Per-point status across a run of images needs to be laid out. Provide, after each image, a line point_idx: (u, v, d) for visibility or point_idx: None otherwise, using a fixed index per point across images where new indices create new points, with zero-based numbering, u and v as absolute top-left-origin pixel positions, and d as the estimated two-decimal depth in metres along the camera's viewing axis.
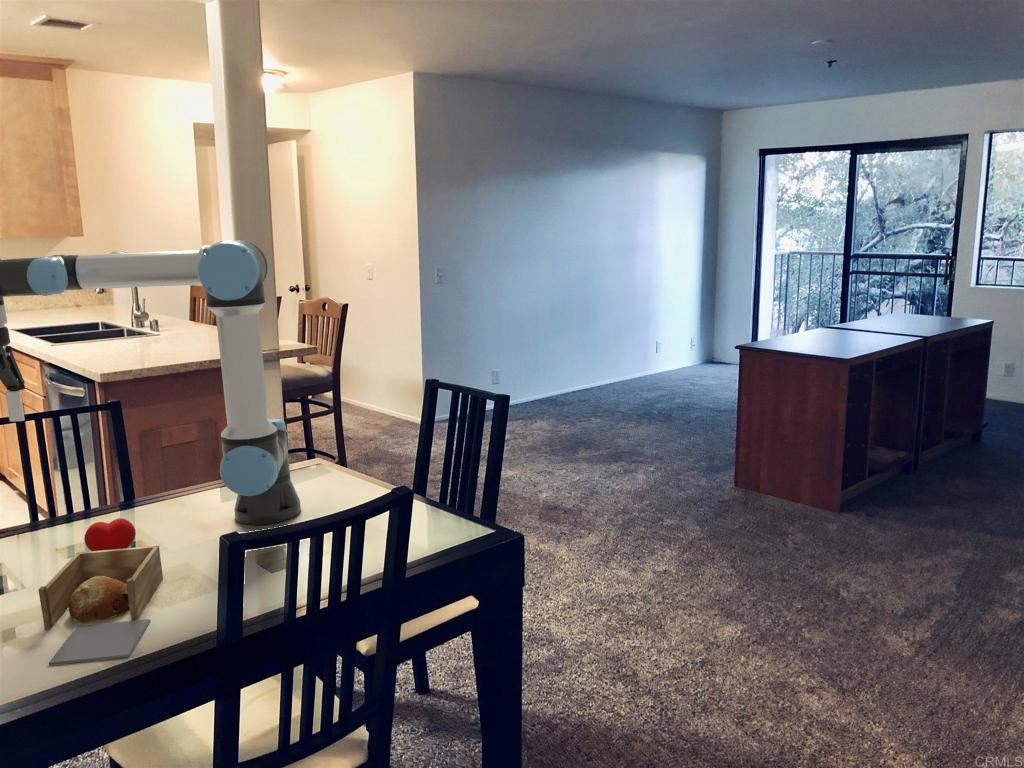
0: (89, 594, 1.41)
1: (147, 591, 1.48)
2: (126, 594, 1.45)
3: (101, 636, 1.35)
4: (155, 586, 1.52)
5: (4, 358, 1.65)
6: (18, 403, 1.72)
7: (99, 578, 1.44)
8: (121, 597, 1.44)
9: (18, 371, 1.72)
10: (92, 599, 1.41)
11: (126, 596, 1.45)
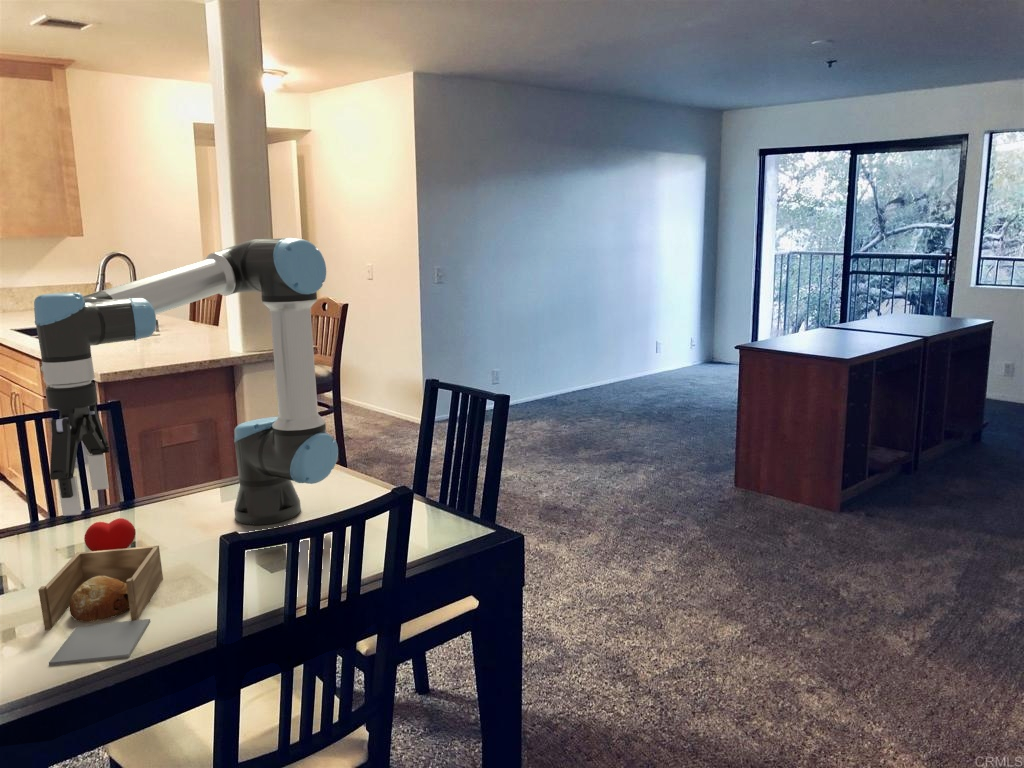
0: (90, 594, 1.41)
1: (147, 591, 1.48)
2: (127, 594, 1.45)
3: (101, 636, 1.35)
4: (155, 586, 1.52)
5: (90, 419, 1.40)
6: (102, 469, 1.47)
7: (100, 578, 1.45)
8: (121, 597, 1.44)
9: (102, 431, 1.48)
10: (93, 599, 1.41)
11: (127, 596, 1.45)
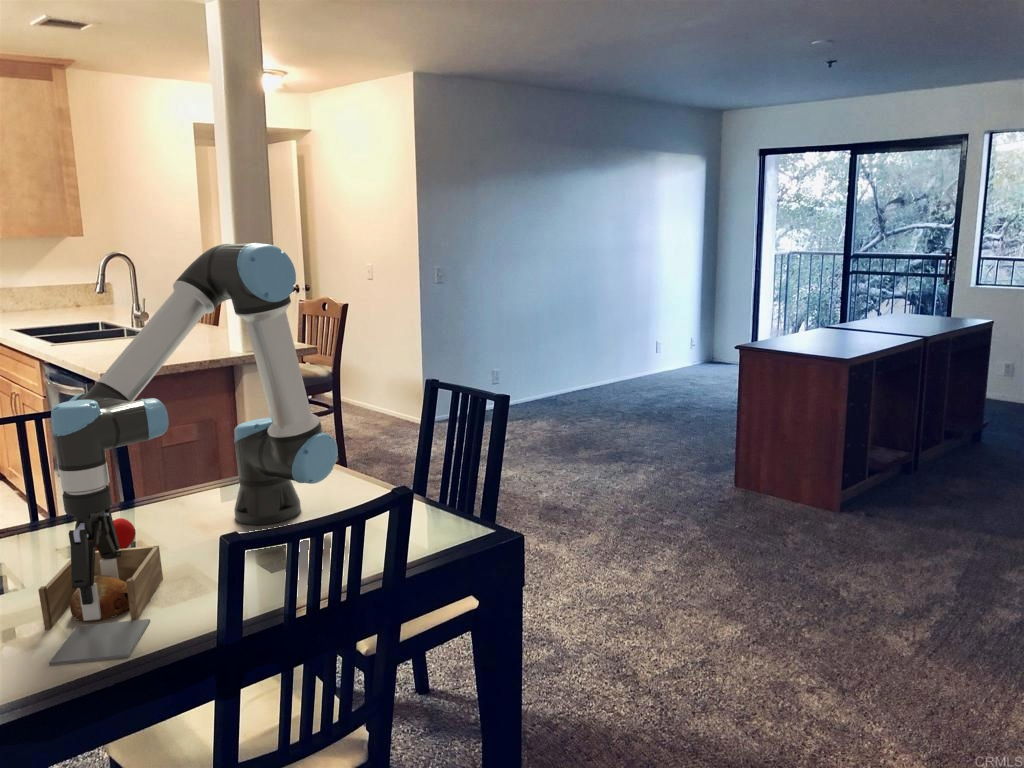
0: None
1: (147, 591, 1.48)
2: (127, 593, 1.45)
3: (101, 636, 1.35)
4: (155, 586, 1.52)
5: (105, 521, 1.44)
6: (114, 573, 1.50)
7: (100, 577, 1.44)
8: (122, 596, 1.44)
9: (115, 534, 1.51)
10: None
11: (127, 595, 1.45)
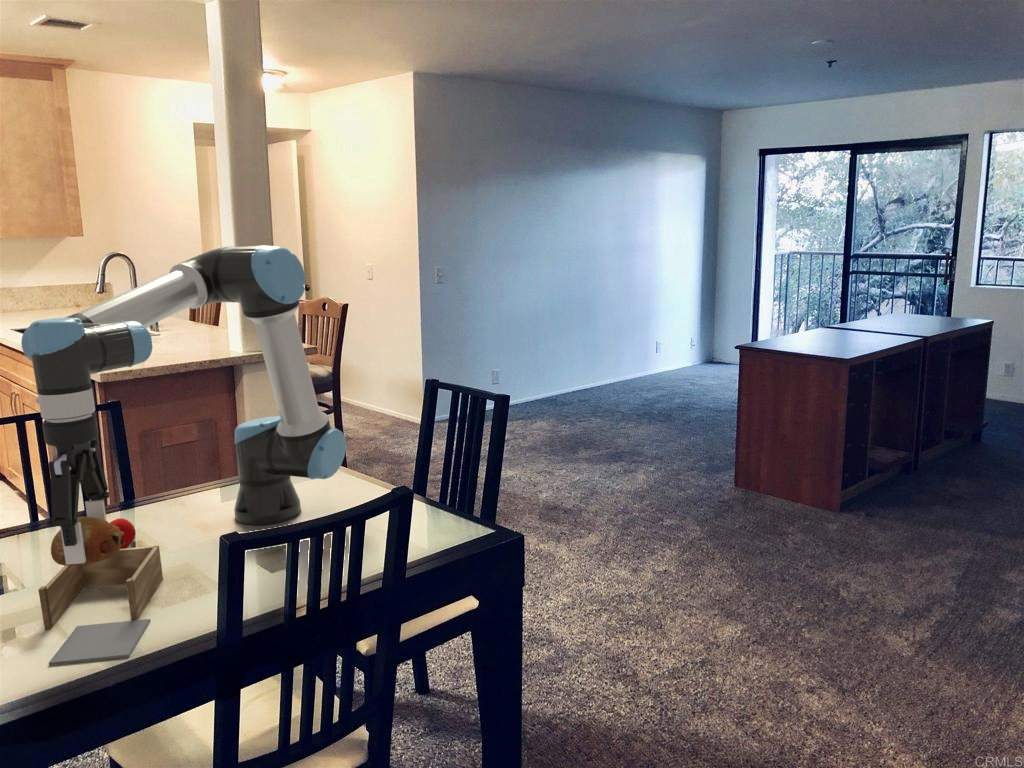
0: None
1: (147, 591, 1.48)
2: (115, 536, 1.30)
3: (101, 636, 1.35)
4: (155, 586, 1.52)
5: (90, 455, 1.29)
6: (101, 516, 1.35)
7: (85, 518, 1.29)
8: (109, 539, 1.29)
9: (102, 472, 1.35)
10: None
11: (115, 538, 1.29)
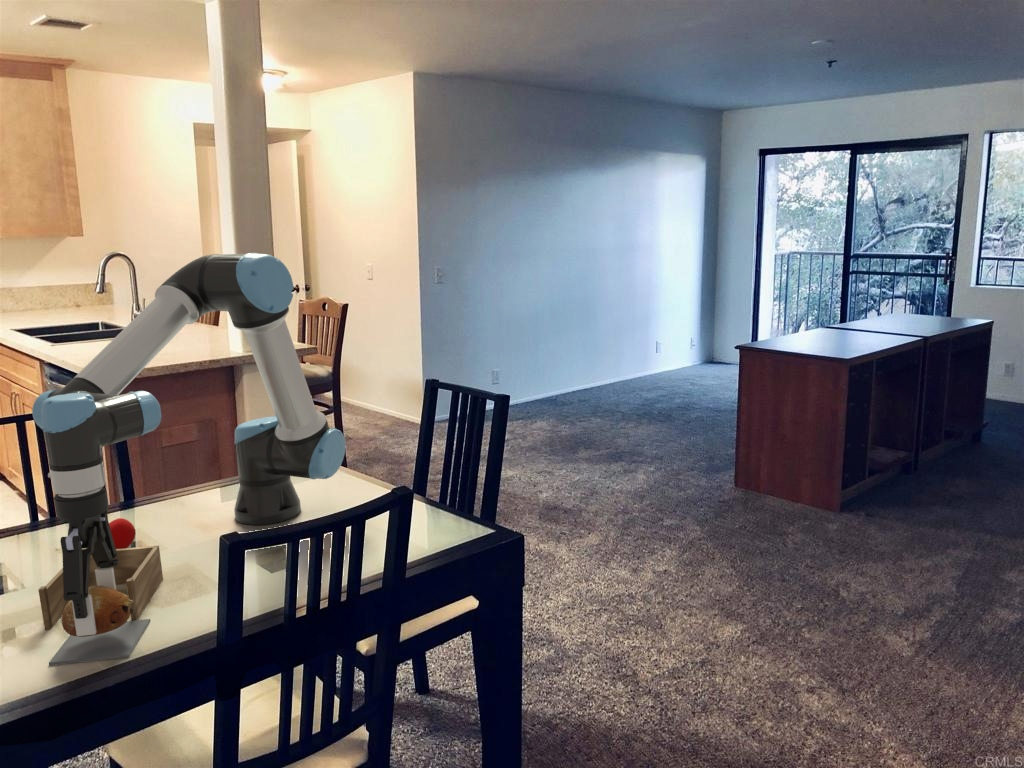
0: None
1: (147, 591, 1.48)
2: (125, 606, 1.32)
3: (101, 636, 1.35)
4: (155, 586, 1.52)
5: (100, 526, 1.31)
6: (111, 583, 1.37)
7: (95, 588, 1.32)
8: (119, 609, 1.31)
9: (111, 540, 1.38)
10: None
11: (125, 608, 1.32)
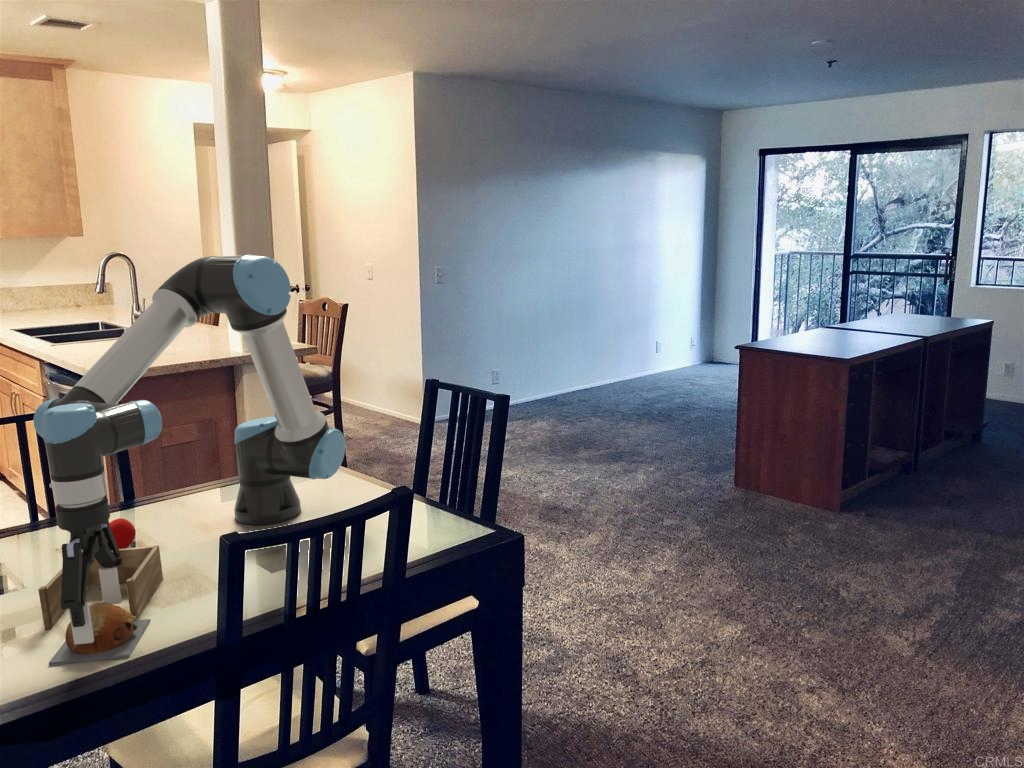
0: None
1: (147, 591, 1.48)
2: (128, 622, 1.33)
3: None
4: (155, 586, 1.52)
5: (102, 535, 1.32)
6: (114, 583, 1.39)
7: (99, 605, 1.32)
8: (122, 626, 1.32)
9: (114, 542, 1.39)
10: None
11: (128, 625, 1.33)
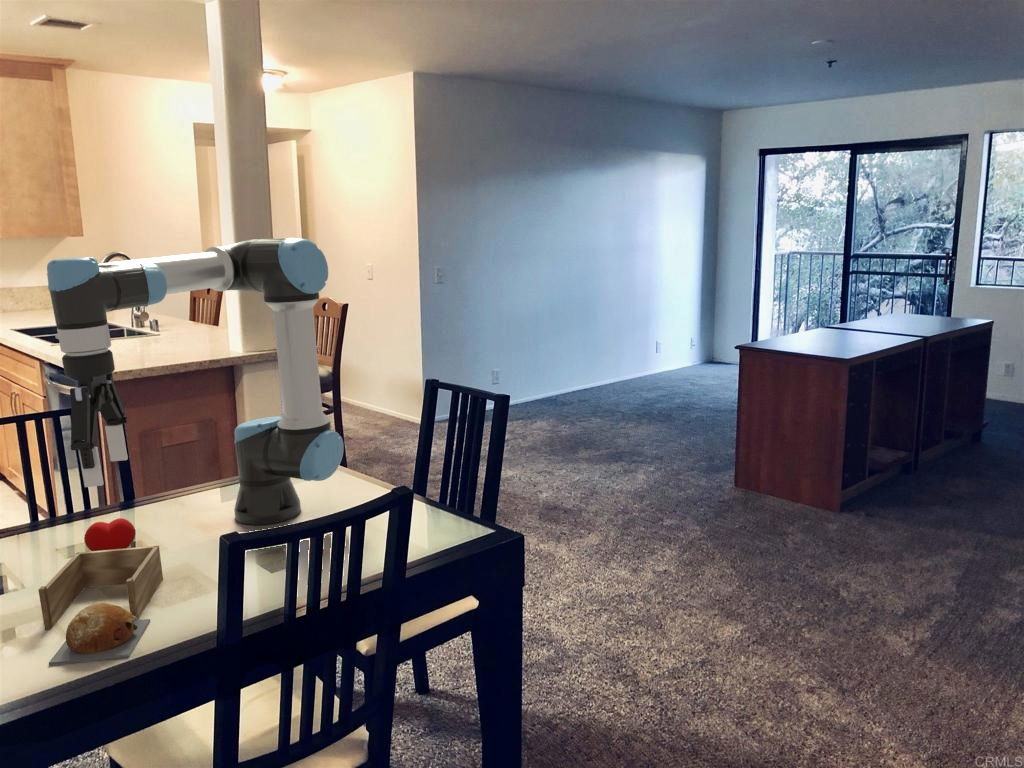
0: (88, 623, 1.29)
1: (147, 591, 1.48)
2: (129, 622, 1.33)
3: None
4: (155, 586, 1.52)
5: (108, 388, 1.36)
6: (120, 439, 1.44)
7: (99, 605, 1.32)
8: (123, 626, 1.32)
9: (119, 401, 1.44)
10: (91, 629, 1.29)
11: (129, 625, 1.33)
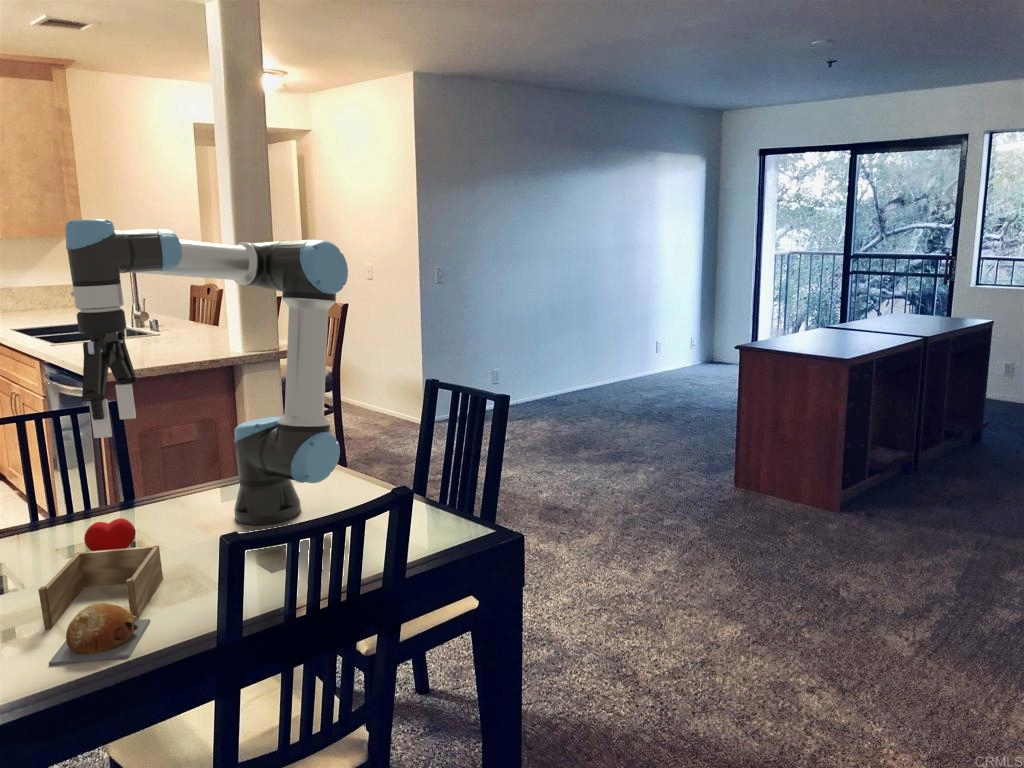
0: (89, 623, 1.29)
1: (147, 591, 1.48)
2: (129, 622, 1.33)
3: None
4: (155, 586, 1.52)
5: (119, 346, 1.43)
6: (130, 398, 1.49)
7: (99, 605, 1.32)
8: (123, 626, 1.32)
9: (129, 361, 1.50)
10: (92, 629, 1.29)
11: (129, 624, 1.33)
